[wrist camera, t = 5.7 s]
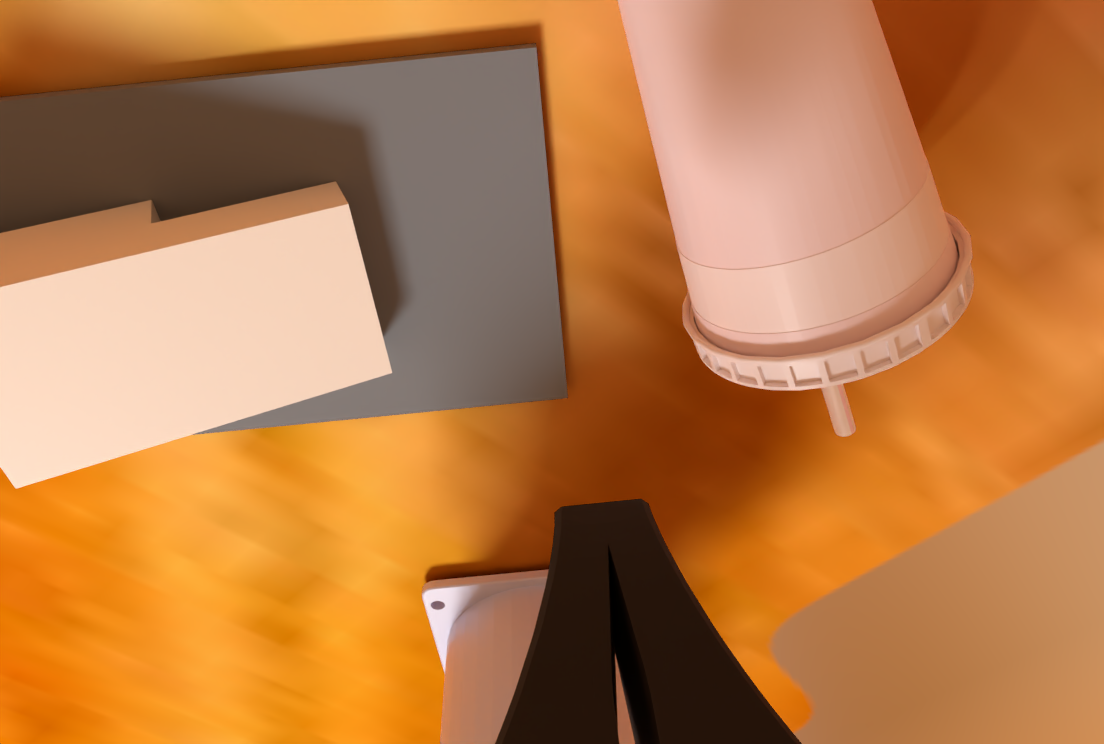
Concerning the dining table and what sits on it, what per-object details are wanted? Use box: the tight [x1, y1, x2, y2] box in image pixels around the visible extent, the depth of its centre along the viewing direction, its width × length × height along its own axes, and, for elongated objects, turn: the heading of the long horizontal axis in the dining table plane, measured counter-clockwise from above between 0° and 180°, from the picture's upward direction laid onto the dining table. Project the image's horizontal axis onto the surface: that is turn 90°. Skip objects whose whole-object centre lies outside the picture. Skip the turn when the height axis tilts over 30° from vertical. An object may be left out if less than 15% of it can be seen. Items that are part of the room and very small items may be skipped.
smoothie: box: [618, 0, 974, 437], centre depth 16 cm, size 6×6×14 cm
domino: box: [0, 181, 392, 488], centre depth 18 cm, size 2×5×9 cm
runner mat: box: [0, 43, 568, 435], centre depth 20 cm, size 10×26×1 cm, turn 95°
